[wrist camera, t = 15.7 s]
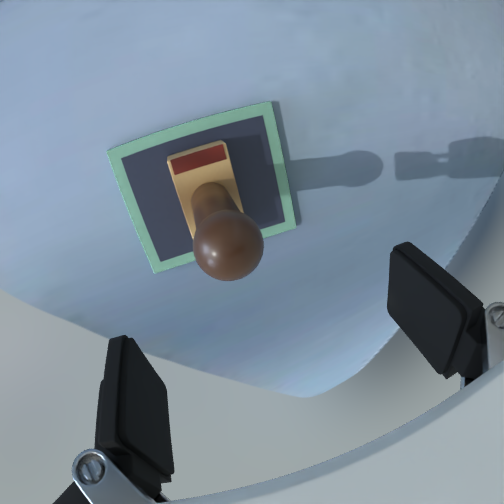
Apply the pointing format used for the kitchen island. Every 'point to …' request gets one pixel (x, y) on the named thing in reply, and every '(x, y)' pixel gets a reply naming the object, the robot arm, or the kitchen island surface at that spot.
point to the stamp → (215, 212)
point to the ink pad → (164, 192)
